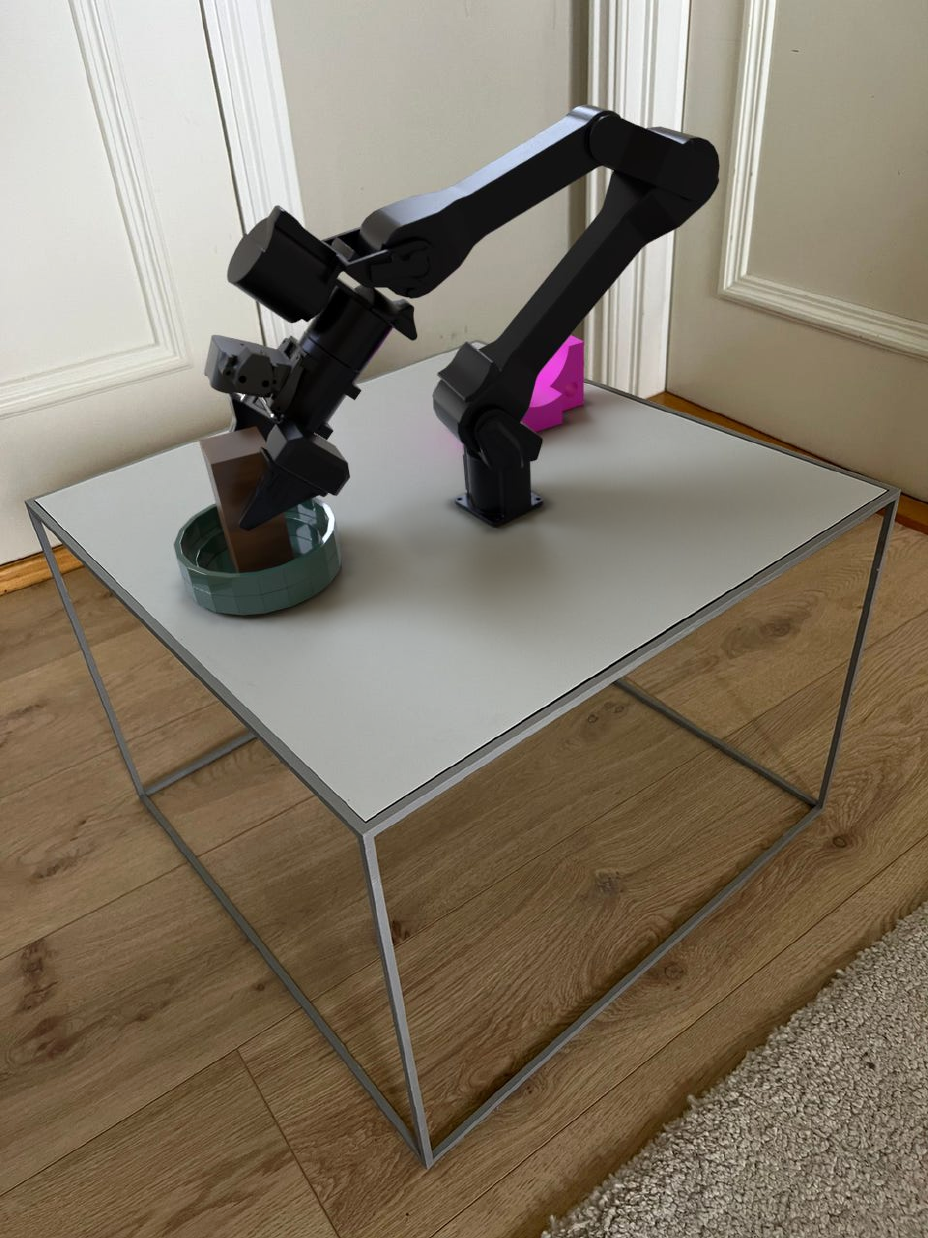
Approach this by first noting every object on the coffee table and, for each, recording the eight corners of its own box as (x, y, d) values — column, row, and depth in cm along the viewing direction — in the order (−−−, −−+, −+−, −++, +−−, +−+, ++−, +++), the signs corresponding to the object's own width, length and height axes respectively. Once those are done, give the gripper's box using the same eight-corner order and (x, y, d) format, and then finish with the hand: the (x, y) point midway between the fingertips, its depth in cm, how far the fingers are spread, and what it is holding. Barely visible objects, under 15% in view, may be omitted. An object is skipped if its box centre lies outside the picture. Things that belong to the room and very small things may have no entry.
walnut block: (283, 547, 89) (256, 425, 81) (297, 573, 85) (270, 449, 78) (231, 561, 88) (198, 439, 80) (243, 589, 84) (210, 464, 76)
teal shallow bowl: (371, 573, 85) (365, 531, 83) (230, 641, 79) (218, 598, 76) (293, 514, 95) (285, 474, 92) (161, 570, 88) (148, 529, 85)
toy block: (483, 449, 103) (479, 384, 98) (455, 428, 107) (450, 365, 102) (596, 411, 108) (597, 348, 103) (565, 393, 112) (564, 331, 108)
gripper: (225, 265, 80) (130, 416, 83) (281, 336, 66) (165, 513, 70) (329, 336, 87) (237, 473, 90) (399, 413, 73) (287, 571, 77)
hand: (231, 503), depth 82 cm, fingers open, 9 cm apart
